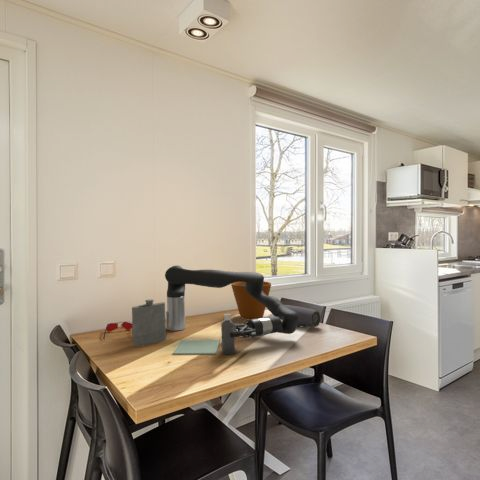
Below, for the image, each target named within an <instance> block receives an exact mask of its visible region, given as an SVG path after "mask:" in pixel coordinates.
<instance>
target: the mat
mask: <svg viewBox="0 0 480 480" xmlns="http://www.w3.org/2000/svg"><path fill="white" fill-rule="evenodd" d="M220 342H221V339H180V341H179V343H178V344H177V346H176V347H175V349H174V350H173V352H172V353H171V354H174V355H175V356H176V355H178V354H181V355H182V354H189V355H217V352H218V349H219V346H220ZM174 355H173V356H174ZM178 356H179V355H178ZM182 356H183V355H182Z"/></svg>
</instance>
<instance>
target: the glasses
mask: <svg viewBox="0 0 480 480" xmlns="http://www.w3.org/2000/svg"><path fill="white" fill-rule="evenodd" d="M120 323H121V324H120ZM119 324H120V326H121V329H125V330H126V331H130V330H131V333H132V334H131V335H132V338H133V330H132V321H130V322H129V321H123V322H121V321H119V322H110V323H107V324H106V327H105V330H104V333H103V337H102V340H103V339H104V340H105V338H106V332H108V331H110V332H112V331H114V330H118V329H119ZM129 329H130V330H129Z"/></svg>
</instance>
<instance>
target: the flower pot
mask: <svg viewBox="0 0 480 480" xmlns="http://www.w3.org/2000/svg"><path fill="white" fill-rule="evenodd" d="M245 285H246V282H235V283H232V284H230V286H231V289H232V292H233V295H234V299H235V303H236V306H237V310H238V314H239V316H240V319H242V320H247V321H248V320H251V319H257V318H262V317H263V318H264V315H265V311H266V307H265V306H264V305H263V304H262V303H260V302H259V301H258V300H256V299H255V298H254V297H252V296H251V295H250V294H249V293H248V292H247V291H246V289H245ZM271 288H272V283H271V282H269V281H265V280H264V282H263V289H262V290H263V292H264V293H265V295H267V296H270V292H271Z"/></svg>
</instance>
